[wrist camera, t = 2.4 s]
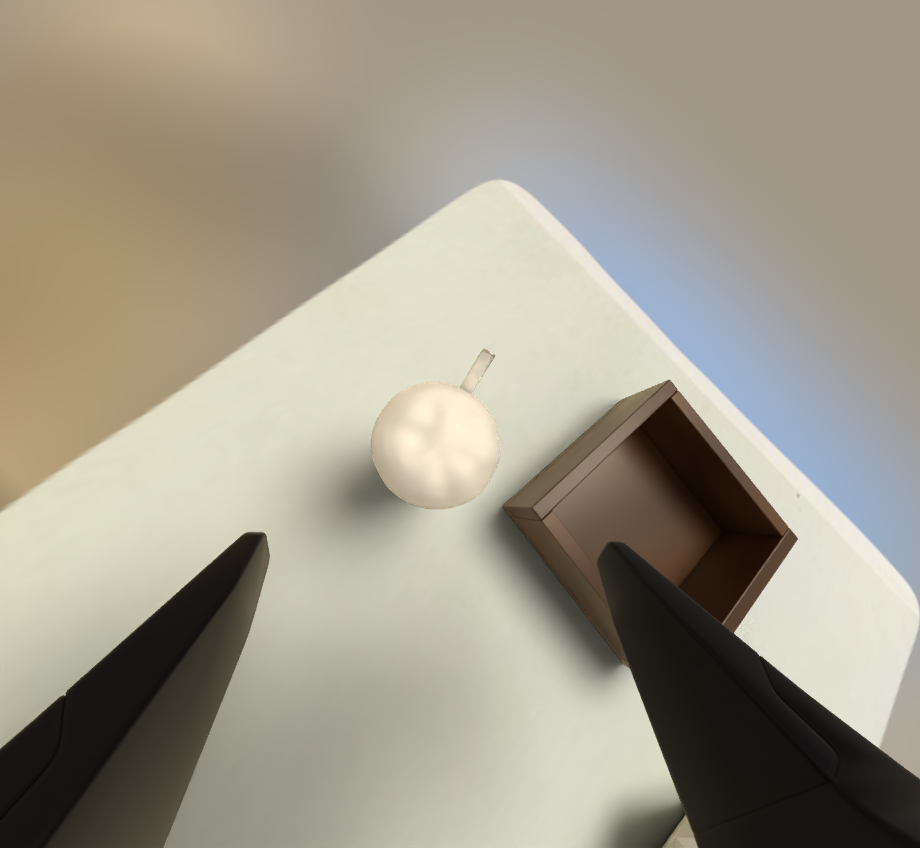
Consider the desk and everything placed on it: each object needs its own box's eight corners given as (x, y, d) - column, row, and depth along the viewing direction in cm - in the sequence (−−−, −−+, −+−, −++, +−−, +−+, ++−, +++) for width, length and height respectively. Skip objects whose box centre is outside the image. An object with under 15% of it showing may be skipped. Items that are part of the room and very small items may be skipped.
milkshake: (473, 438, 21) (549, 385, 11) (433, 519, 19) (481, 538, 10) (407, 402, 20) (428, 316, 11) (360, 482, 19) (338, 464, 9)
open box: (727, 532, 23) (798, 538, 19) (623, 664, 20) (684, 706, 16) (621, 399, 24) (670, 378, 20) (501, 506, 20) (530, 507, 16)
